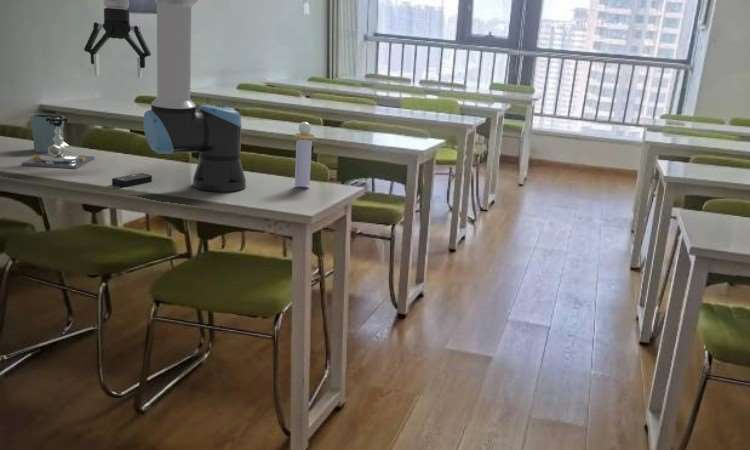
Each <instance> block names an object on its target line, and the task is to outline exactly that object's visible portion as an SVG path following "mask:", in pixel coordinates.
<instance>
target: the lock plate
mask: <svg viewBox="0 0 750 450" xmlns="http://www.w3.org/2000/svg"><path fill="white" fill-rule="evenodd" d="M93 160H95V156H91V155H78V154H76V153H72V152H71V151H68V152H66V153H65V154H64V155H62V156H56V157H53V156H51V155H50V154H49V153H41V154H37V153H35V154H33V155H32V158H29V159H28V160H25V161H22V162H21V166H23V167H24V166H27V167H40V168H41V167H43V168H56V169H57V168H58V169H59V168H60V169H71V170H73V169H75V170H77V169H78V168H80V167H82V166H85V165H86V164H88V163H90V162H92V161H93Z"/></svg>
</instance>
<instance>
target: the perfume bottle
mask: <svg viewBox="0 0 750 450" xmlns="http://www.w3.org/2000/svg"><path fill="white" fill-rule="evenodd" d="M311 130H312V126H311V124H310V123H309V122H308V121H302V122H300V124H299V125H298V131H299V132H298V133H297V132H296V133H295V134H294V137H295V138H299V139H300V140H299V139H298V140H296V143H295V144H296V147H295V148H296V149H295V166H294V167H295V168H294V169H295V170H294V186H296V187H299V188H306V187H310V184H311V182H310V181H311V166H312V165H311V164H312V154H314V144H313V142H312V141H311V140H308V139H314V138H315V135H314V134H312V133H310V132H311ZM301 139H302V140H301ZM304 139H307V140H304ZM307 185H309V186H307Z"/></svg>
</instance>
